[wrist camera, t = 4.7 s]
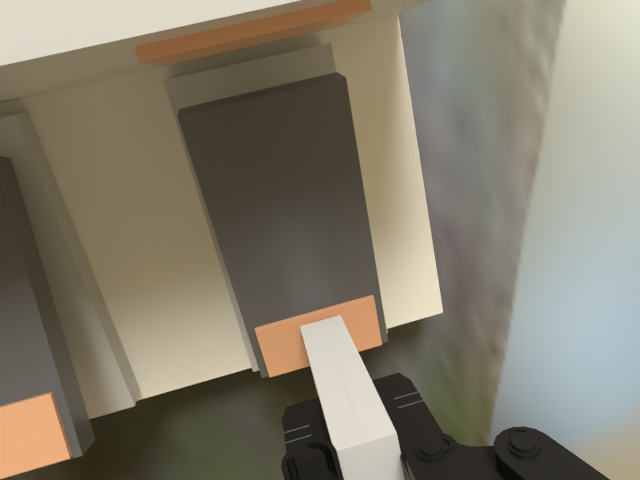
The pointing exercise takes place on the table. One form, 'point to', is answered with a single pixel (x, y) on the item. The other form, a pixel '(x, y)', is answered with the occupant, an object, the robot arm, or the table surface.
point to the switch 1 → (32, 352)
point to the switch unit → (186, 169)
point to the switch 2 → (289, 213)
